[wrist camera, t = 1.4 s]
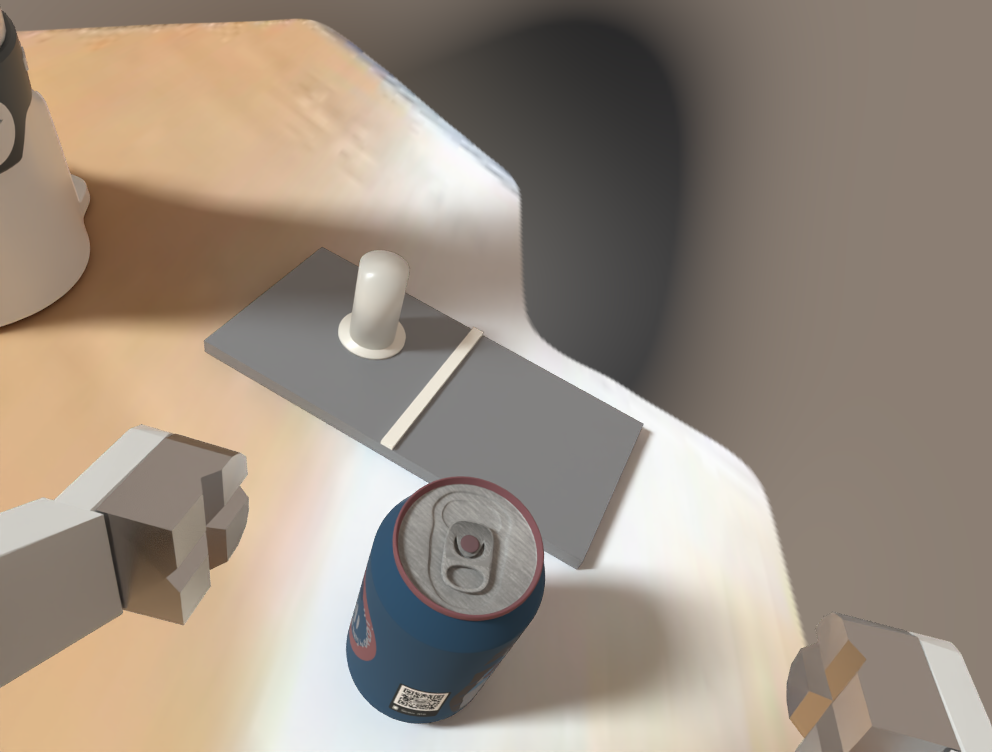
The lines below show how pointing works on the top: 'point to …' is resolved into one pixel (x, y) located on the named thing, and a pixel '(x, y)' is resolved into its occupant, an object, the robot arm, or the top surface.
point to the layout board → (431, 391)
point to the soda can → (444, 597)
